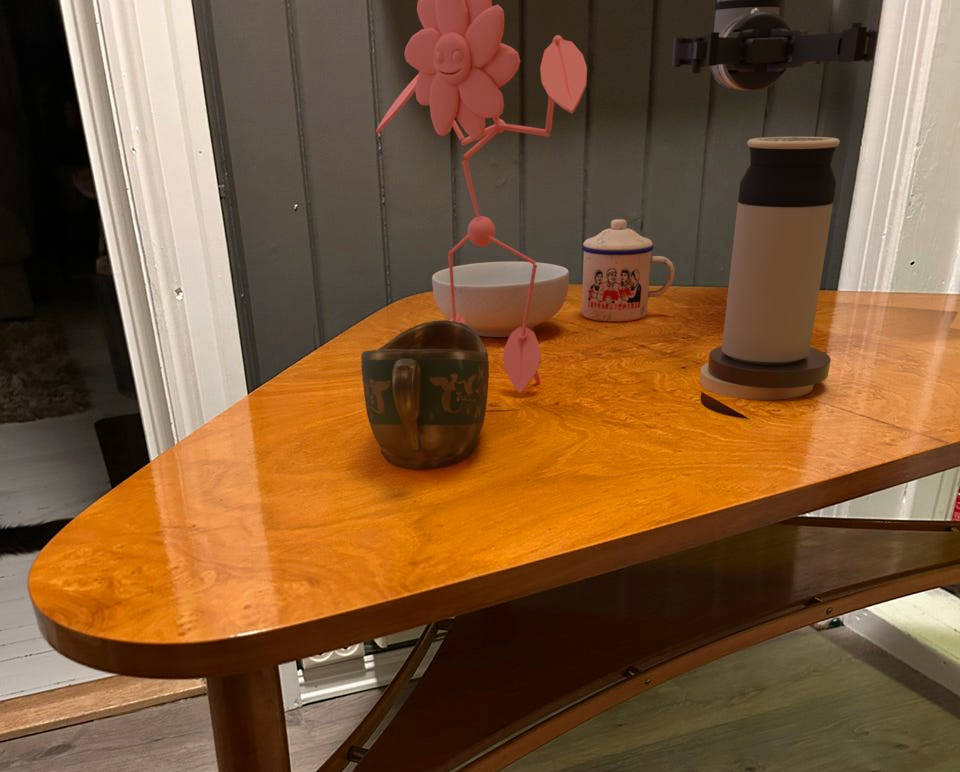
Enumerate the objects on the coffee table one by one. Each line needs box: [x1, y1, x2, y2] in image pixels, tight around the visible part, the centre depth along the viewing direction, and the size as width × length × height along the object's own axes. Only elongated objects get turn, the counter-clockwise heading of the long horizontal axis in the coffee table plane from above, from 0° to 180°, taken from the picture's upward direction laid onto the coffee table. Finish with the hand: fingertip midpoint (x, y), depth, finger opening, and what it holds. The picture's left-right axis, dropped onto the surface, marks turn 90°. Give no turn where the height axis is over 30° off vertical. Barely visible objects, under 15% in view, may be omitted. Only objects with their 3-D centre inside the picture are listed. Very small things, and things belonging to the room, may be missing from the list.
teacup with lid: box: [581, 218, 675, 323], centre depth 121 cm, size 12×9×12 cm
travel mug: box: [721, 136, 841, 365], centre depth 84 cm, size 8×8×18 cm
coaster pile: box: [698, 345, 832, 420], centre depth 89 cm, size 12×11×4 cm
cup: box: [360, 319, 490, 471], centre depth 79 cm, size 13×20×10 cm, turn 147°
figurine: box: [375, 0, 588, 413], centre depth 87 cm, size 15×26×35 cm, turn 48°
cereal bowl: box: [431, 261, 570, 338], centre depth 117 cm, size 17×17×7 cm
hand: (786, 46), depth 89 cm, fingers open, 13 cm apart
